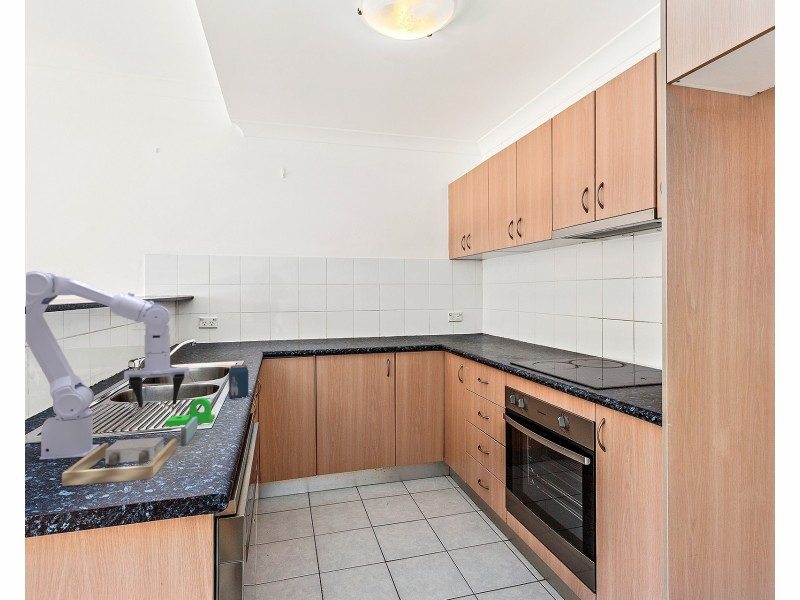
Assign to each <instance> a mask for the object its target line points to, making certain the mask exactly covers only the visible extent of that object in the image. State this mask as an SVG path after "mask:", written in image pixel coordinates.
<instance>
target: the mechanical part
mask: <svg viewBox="0 0 800 600" xmlns="http://www.w3.org/2000/svg"><path fill="white" fill-rule="evenodd" d="M200 405H201V406H203V408H204V411H201V412H200V411H199V410H198V409H197V407H198V406H200ZM188 412H189V414H181V415H175V416H171V417H169V418H168V419H166V420H165V427H166V428H169V427H180V426H179V425H186V424H187V423H188V422H189V421H190V420H191V419H192V418H193V417H197V424H199V423H210V422H211V421H212V420H213V419H214V418H215V419H216V414H215V413H212V403H211V401H210V400H209V399H208V398H206V397H198V398H196V399H194V400H193V401H192V402H191V403H190V405H189V411H188ZM215 419H214V420H215ZM214 420H213V421H214ZM213 421H212V422H213ZM212 422H211V423H212ZM211 423H210V424H211Z"/></svg>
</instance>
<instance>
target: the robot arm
mask: <svg viewBox="0 0 800 600" xmlns="http://www.w3.org/2000/svg"><path fill="white" fill-rule="evenodd" d="M59 296H75V297H79V298H83V299H85V300H88V301H91V302H95V303H98V304H100V305H101V304H102V305H104V306H107V307H108V308H109V309H110V311H111V313H112V314H113V315H116V316H120V317H122V318H124V319H127V320H131V321H134V322H137V323H138V324H139V323H142V322H143V324H144V325H145V329H144V330H145V334H144V368H143V369H134V370H125V371H124V372H123V379H124V380H128V385H129V386H130V388H131V389H132V391H133V392H134V395H135V398H136V402H137V406H138V408H139V409H140V408H143V406H144V404H143V403H144V399H143V398H144V397H143V381H144V380H143V379H146V378H147V379H148V378H149V379H150V378H160V377H161V378H162V377H172V387H173V393H172V405H173V406H174V405H177V401H178V394H179V392H180V388H181V385H182V384H183V381H184V379H185V376H189V375H190V367H189V366H182V367H181V366H179V367H171V335H170V326H169V322H170V320H171V313H170V311H169V310H168V309H167V308H166V306H163V305H162V304H155V301H153V300H149V301H148V300H145V299H142V298H140V297H137V296H135V293H134V292H128V293H127V292H120V293H117V294H114V293H111V292H109V291H105V290H103V289H101V288H98V287H95V286H93V285H90V284H88V283H85V282H83V281H80V280H78V279H74V278H71V277H66V276H61V275H56V274H54V273H51V272H47V273H46V272H43V271H39V270H31V271H28V272H26V340H25V343H26V344H27V345H28V347H29V349H30V351H31V353H32V355H33V356H34V358H35V360H36V362H37V364H38V365H39V367H40V368H41V371H42V372H43V375H44V376H45V377H46V379H47V381H48V383H49V394H50V397H51V398H52V401H53V402H52V409H53V412H54V414H55V416H54V417H48V418H46V420H45V421H44V422H43V424H42V426H41V432H40V433H41V434H40V435H41V436H40V438H41V439H40V443H41V445H40V446H41V447H40V448H41V449H40V451H41V452H40V454H41V455H40V457H39V460H52V459H53V460H54V459H68V458H81V457H82V458H84V457H85V456H87V455H88V454H90V453H91V452H92V451H94V450H95V449H96V448H98V447H99V446H101V444H99V443H98V444H93V441H94V440H93V436H94V435H93V432H94V431H93V428H94V427H93V422H94V421H93V410H91V409H90V406H91V405H92V404H93V402H94V400H95V394H94V391H93V390H92V389H91V388H90V387H89V386H87V385H85V383H84V382H83V381H82V379H81V378H80V377H79V376H78V375H77V374H76V373H75V372H74V370H73V369H72V366H71V365H70V363H69V361H68V359H67V358H66V357H67V356H65V354H64V352H63V350H62V348H61V347H60V345H59V343H58V341H57V339H56V337H55V336H54V334H53V331H52V330H51V328H50V327H49V324H48V323H47V321H46V319H45V318H44V314H45V311H46V310H47V308H48V307H49V305H50V303H51V302H53V301H54V300H55V299H56V298H57V297H59ZM154 304H155V305H154ZM124 380H123V381H124Z"/></svg>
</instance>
